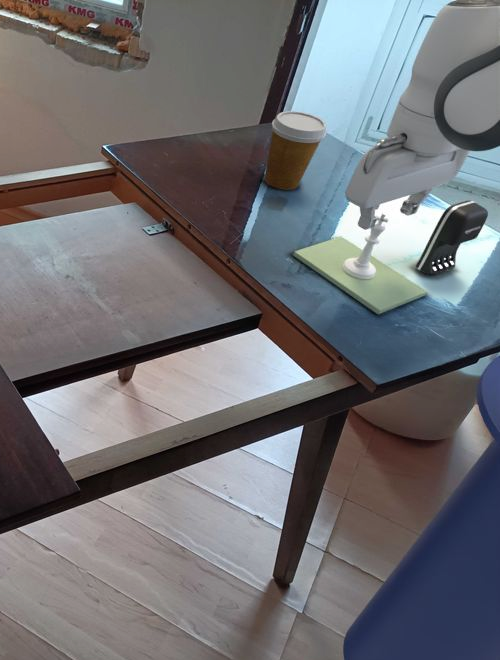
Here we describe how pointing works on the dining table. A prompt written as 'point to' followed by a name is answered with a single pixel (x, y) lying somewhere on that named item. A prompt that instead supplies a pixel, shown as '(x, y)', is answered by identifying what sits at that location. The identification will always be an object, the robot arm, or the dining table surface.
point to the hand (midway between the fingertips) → (386, 220)
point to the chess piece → (365, 254)
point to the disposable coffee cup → (292, 148)
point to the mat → (373, 293)
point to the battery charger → (451, 236)
